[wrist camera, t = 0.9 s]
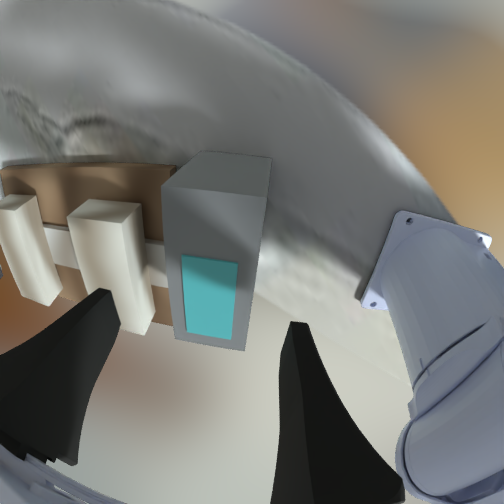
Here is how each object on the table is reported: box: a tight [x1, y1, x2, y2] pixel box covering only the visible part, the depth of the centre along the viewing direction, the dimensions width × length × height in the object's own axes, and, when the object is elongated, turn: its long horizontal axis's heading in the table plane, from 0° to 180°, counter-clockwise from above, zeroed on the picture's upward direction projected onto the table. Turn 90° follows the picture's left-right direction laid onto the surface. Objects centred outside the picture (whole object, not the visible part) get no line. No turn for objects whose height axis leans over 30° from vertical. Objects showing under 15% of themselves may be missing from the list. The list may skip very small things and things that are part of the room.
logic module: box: [161, 151, 272, 351], centre depth 15 cm, size 4×9×6 cm, turn 174°
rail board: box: [0, 162, 176, 335], centre depth 17 cm, size 17×13×4 cm
